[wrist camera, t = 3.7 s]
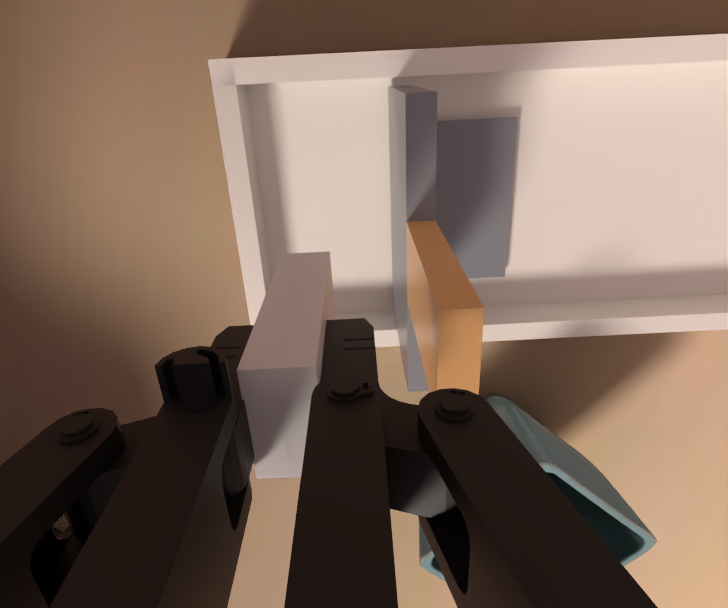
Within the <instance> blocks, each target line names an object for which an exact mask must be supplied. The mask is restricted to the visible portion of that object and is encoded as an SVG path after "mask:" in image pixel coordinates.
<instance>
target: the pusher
mask: <svg viewBox="0 0 728 608" xmlns="http://www.w3.org/2000/svg"><path fill="white" fill-rule="evenodd" d="M388 104H389V149H390V194H391V239H392V284H393V310H394V315H395V321H396V327H397V332H398V338H399V344H400V349H401V355H402V361H403V366H404V372H405V378H406V383H407V389H408V392H409V391H429V392H433V391H436V390H439V389H448V388H456V389H463V390H468V391H470V392H473V393H475V394H478V395H479V383H480V367H481V352H482V337H483V321H484V306H483V305H482V303H481V301H480V299H479V297H478V296H477V294H476V292H475V290H474V289H473V287H472V285H471V283H470V281H469V280H468V279H470V278H489V277H505V270H506V258H507V245H508V233H509V221H510V209H511V197H512V185H513V172H514V160H515V148H516V136H517V124H518V117H505V118H485V119H465V120H445V121H437V92H436V91H431V90H427V89H423V88H419V87H415V86H411V85H403V86H388Z"/></svg>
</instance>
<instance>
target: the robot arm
mask: <svg viewBox="0 0 728 608" xmlns="http://www.w3.org/2000/svg"><path fill="white" fill-rule="evenodd" d="M155 369H156V373H157V377H158V381H159V384H160V388H161V392H162V396H163V400H164V403H163V405H162V407H161V409H160V411H159V412H158V414H157V416H154V417H151V418H148V419H144V420H140V421H136V422H132V423H128V424H124V425H120V423H119V420H118V417H117V416H116V414H115V413H114V412H113V411H111V410H107V409H104V408H95V409H85V410H82V411H81V410H80V411H77V412H73V413H71V414H70V415H67V416H65V417H63V418H60V419H59V420H57V421H56V422H54V423H53V424H51V425H50V426H48V427H47V428H46V429H44V430H43V431H42V432H41V433H40V434H38V435H37V436H36V437H35V438H34V439H32V440H31V441H30V442H29V443H28V444H26V445H25V446H24V447H23V448H22V449H20V450H19V451H18V452H17V453H16V454H14V455H13V456H12V457H11V458H10V459H8V460H7V461H6V462H5V463H4V464H2V465H1V466H0V608H227V605H228V601H229V597H230V592H231V588H232V584H233V579H234V575H235V571H236V566H237V562H238V558H239V553H240V549H241V544H242V540H243V536H244V531H245V527H246V523H247V518H248V514H249V510H250V505H251V501H252V489H251V484H250V479H249V476H250V472H251V468H252V464H253V462H254V467H255V473H256V478H257V479H269V478H288V477H301V482H300V490H299V497H298V505H297V513H296V521H295V529H294V536H293V544H292V552H291V560H290V568H289V575H288V583H287V591H286V599H285V607H284V608H398V601H397V589H396V577H395V565H394V553H393V541H392V529H391V517H390V509H394V510H398V511H403V512H407V513H411V514H415V515H418V517H419V522H420V525H421V527H422V529H423V531H424V534H425V536H426V538H427V540H428V543H429V545H430V547H431V549H432V551H433V554H434V556H435V558H436V560H437V563H438V565H439V567H440V569H441V571H442V574H443V576H444V578H445V580H446V583H447V585H448V587H449V589H450V591H451V594H452V596H453V598H454V600H455V603H456V605H457V607H458V608H657V606H656V605H655V604H654V603H653V602H652V600H651V599H650V598H649V597H648V595H647V594H646V593H645V592H644V591H643V589H642V588H641V587H640V586H639V585H638V583H637V582H636V581H635V580H634V579H633V577H632V576H631V575H630V574H629V572H628V571H627V570H626V569H625V568H624V566H623V565H622V564H621V563H620V562H619V560H618V559H617V558H616V557H615V556H614V554H613V553H612V552H611V551H610V549H609V548H608V547H607V546H606V545H605V543H604V542H603V541H602V540H601V539H600V537H599V536H598V535H597V534H596V533H595V531H594V530H593V529H592V528H591V526H590V525H589V524H588V523H587V522H586V520H585V519H584V518H583V517H582V516H581V514H580V513H579V512H578V511H577V509H576V508H575V507H574V506H573V505H572V503H571V502H570V501H569V500H568V499H567V497H566V496H565V495H564V494H563V493H562V491H561V490H560V489H559V488H558V486H557V485H556V484H555V483H554V482H553V480H552V479H551V478H550V477H549V476H548V474H547V473H546V472H545V471H544V470H543V468H542V467H541V466H540V465H539V463H538V462H537V461H536V460H535V459H534V457H533V456H532V455H531V454H530V453H529V451H528V450H527V449H526V448H525V447H524V445H523V444H522V443H521V442H520V440H519V439H518V438H517V437H516V436H515V434H514V433H513V432H512V431H511V430H510V428H509V427H508V426H507V425H506V424H505V422H504V421H503V420H502V419H501V417H500V416H499V415H498V414H497V413H496V411H495V410H494V409H493V408H492V407H491V405H490V404H489V403H488V402H487V401H486V400H485V399H483V398H482V397H481V396H480V395H478V394H475V393H473V392H470V391H468V390H463V389H456V388H448V389H439V390H436V391H433V392H430V393H428V394H427V395H426V396H425V397H423V398H422V399H421V401H420V403H419V405H413V404H408V403H404V402H400V401H397V400H395V399H393V398H390V397H389V396H388V395H386V394H385V393H384V392H383V391H382V390H381V388H380V386H379V383H378V374H377V362H376V350H375V339H374V327H373V326H372V325H371V324H370V323H369V322H368V321H367V320H366V319H365V318H356V319H337V320H335V310H334V297H333V285H332V272H331V259H330V251H327V252H307V253H288V254H281V256H280V259H279V261H278V264H277V267H276V269H275V272H274V274H273V277H272V280H271V282H270V285H269V287H268V290H267V293H266V295H265V298H264V300H263V303H262V306H261V308H260V311H259V313H258V316H257V319H256V321H255V324H254V325H247V326H229V327H228V328H226V329H225V330H224V331H222V332H221V333H220V334H219V335H217V336H216V337H215V339H214V341H213V343H212V345H211V347H205V346H198V347H191V348H185V349H182V350H179V351H176V352H173V353H171V354H169V355H168V356H166V357H164V358H162V359H161V360H160V361H159V362H158V363H157V364H156V365H155ZM63 514H65V516H66V519H67V521H68V523H69V526H68V527H67V528H66V529H65V531H64V532H62V533H61V534H60V533H58V532H56V531H54V530H51V527H52V525H53V524H54V523H55V522H56V521H57V520H58V519H59V518H60V517H61V516H62V515H63Z"/></svg>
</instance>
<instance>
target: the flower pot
mask: <svg viewBox="0 0 728 608" xmlns="http://www.w3.org/2000/svg"><path fill="white" fill-rule="evenodd" d="M486 401H487V402H488V403H489V404H490V405H491V407H492V408H493V409H494V410H495V411H496V413H497V414H498V415H499V416H500V417H501V419H502V420H503V421H504V422H505V424H506V425H507V426H508V427H509V428H510V430H511V431H512V432H513V433H514V434H515V436H516V437H517V438H518V439H519V440H520V442H521V443H522V444H523V445H524V447H525V448H526V449H527V450H528V451H529V453H530V454H531V455H532V456H533V457H534V459H535V460H536V461H537V462H538V463H539V465H540V466H541V467H542V468H543V470H544V471H545V472H546V473H547V474H548V476H549V477H550V478H551V479H552V480H553V482H554V483H555V484H556V485H557V486H558V488H559V489H560V490H561V491H562V493H563V494H564V495H565V496H566V497H567V499H568V500H569V501H570V502H571V503H572V505H573V506H574V507H575V508H576V509H577V511H578V512H579V513H580V514H581V516H582V517H583V518H584V519H585V520H586V522H587V523H588V524H589V525H590V526H591V528H592V529H593V530H594V531H595V533H596V534H597V535H598V536H599V537H600V539H601V540H602V541H603V542H604V543H605V545H606V546H607V547H608V548H609V549H610V551H611V552H612V553H613V554H614V556H615V557H616V558H617V559H618V560H619V562H620V563H621V564H622V565H623V566H626V565H627V564H628V563H630V562H631V561H633V560H635V559H636V558H638V557H639V556H641V555H643V554H644V553H645V552H647V551H648V550H649V549H650V548H651V547H652V546H653V545H655V543H656V538H655V537H654V536H653V534H652V533H651V532H650V531H649V529H648V528H647V527H646V526H645V525H644V523H643V522H642V521H641V520H640V518H639V517H638V516H637V515H636V514H635V512H634V511H633V510H632V509H631V507H630V506H629V505H628V504H627V503H626V501H625V500H624V499H623V498H622V496H621V495H620V494H619V493H618V492H617V490H616V489H615V488H614V487H613V486H612V484H611V483H610V482H609V481H608V480H607V478H606V477H605V476H604V475H603V474H602V473H601V472H600V471H599V470H598V469H597V468H596V467H595V466H594V465H593V464H592V463H591V462H590V461H589V460H588V459H586V458H585V457H584V456H583V455H582V454H581V453H579V452H578V451H577V450H575V449H574V448H573V447H571V446H570V445H569V444H567V443H566V442H565V441H563V440H562V439H561V438H559V437H558V436H557V435H555V434H554V433H552V432H551V431H550V430H548V429H547V428H546V427H544V426H543V425H542V424H540V423H539V422H538V421H537V420H535V419H534V418H533V417H531V416H530V415H529V414H527V413H526V412H525V411H523V410H522V409H521V408H520V407H518V406H517V405H516V404H514V403H513V402H512V401H510V400H509V399H507V398H505V397H502V396H497V395H493V396H490V397H488V398H487V399H486ZM419 557H420V560H419V563H420V566H421V567H422V568H424V569H425V570H426V571H428V572H429V573H431V574H433V575H435V576H437V577H438V578H440V579H442V580H444V581H446V580H445V578H444V576H443V574H442V571H441V569H440V567H439V565H438V563H437V560H436V558H435V556H434V554H433V551H432V549H431V547H430V545H429V543H428V540H427V538H426V536H425V534H424V531H423V529H422V527H421V525H420V522H419Z"/></svg>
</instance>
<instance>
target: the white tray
mask: <svg viewBox="0 0 728 608" xmlns="http://www.w3.org/2000/svg"><path fill="white" fill-rule="evenodd" d="M208 64H209V70H210V76H211V82H212V89H213V95H214V101H215V107H216V113H217V120H218V126H219V132H220V138H221V144H222V151H223V157H224V163H225V169H226V176H227V182H228V188H229V194H230V200H231V207H232V213H233V219H234V225H235V231H236V238H237V244H238V250H239V256H240V262H241V269H242V275H243V281H244V287H245V293H246V300H247V306H248V312H249V318H250V324H251V325H254V324H255V321H256V319H257V316H258V313H259V311H260V308H261V306H262V303H263V300H264V298H265V295H266V293H267V290H268V287H269V285H270V282H271V280H272V277H273V274H274V272H275V269H276V267H277V264H278V261H279V259H280V256H281V254H288V253H307V252H327V251H330V259H331V272H332V285H333V297H334V310H335V320H337V319H356V318H365V319H366V320H367V321H368V322H369V323H370V324H371V325H372V326H373V327H374V339H375V347H389V346H400V344H399V338H398V332H397V327H396V321H395V315H394V310H393V284H392V239H391V194H390V149H389V104H388V86H403V85H411V86H415V87H419V88H423V89H427V90H431V91H436V92H437V121H445V120H465V119H485V118H505V117H518V124H517V136H516V148H515V160H514V172H513V185H512V197H511V209H510V221H509V233H508V245H507V258H506V270H505V277H489V278H470V279H468V280H469V281H470V283H471V285H472V287H473V289H474V290H475V292H476V294H477V296H478V297H479V299H480V301H481V303H482V305H483V306H484V321H483V337H482V342H487V341H507V340H526V339H546V338H566V337H585V336H605V335H625V334H644V333H664V332H684V331H703V330H723V329H728V34H709V35H689V36H669V37H649V38H629V39H609V40H589V41H569V42H549V43H529V44H508V45H488V46H468V47H448V48H428V49H408V50H388V51H368V52H348V53H328V54H308V55H288V56H268V57H248V58H227V59H208Z"/></svg>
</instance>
